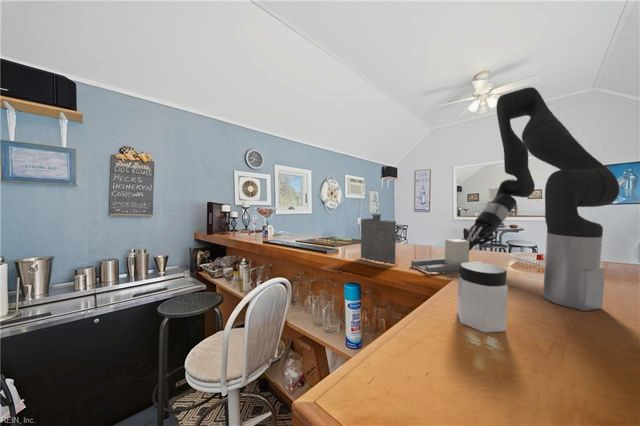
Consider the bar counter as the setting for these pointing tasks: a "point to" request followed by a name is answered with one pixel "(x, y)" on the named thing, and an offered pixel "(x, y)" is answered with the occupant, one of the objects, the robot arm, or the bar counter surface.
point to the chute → (436, 265)
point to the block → (456, 251)
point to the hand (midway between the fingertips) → (464, 250)
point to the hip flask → (378, 239)
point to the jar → (482, 296)
